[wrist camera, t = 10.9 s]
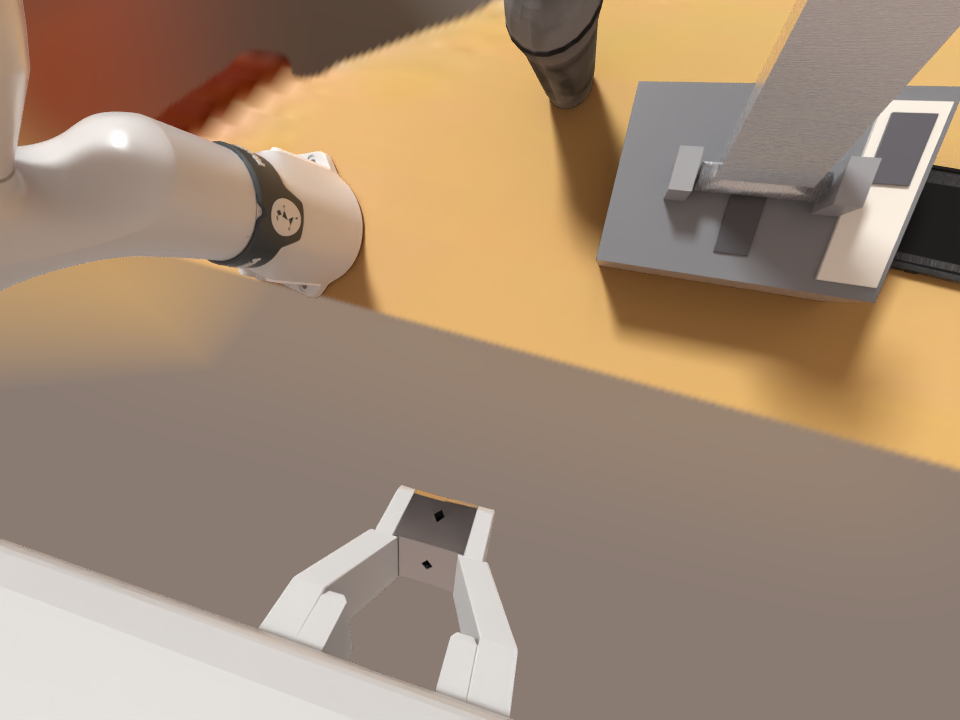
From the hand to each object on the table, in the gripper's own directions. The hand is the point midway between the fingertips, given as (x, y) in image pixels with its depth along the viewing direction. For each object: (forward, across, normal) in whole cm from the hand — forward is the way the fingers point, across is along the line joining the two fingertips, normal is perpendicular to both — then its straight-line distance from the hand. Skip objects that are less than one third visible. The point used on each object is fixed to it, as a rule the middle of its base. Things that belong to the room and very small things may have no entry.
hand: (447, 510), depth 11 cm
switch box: (+34, -16, -7) cm, 39 cm away
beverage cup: (+40, +1, -16) cm, 43 cm away
